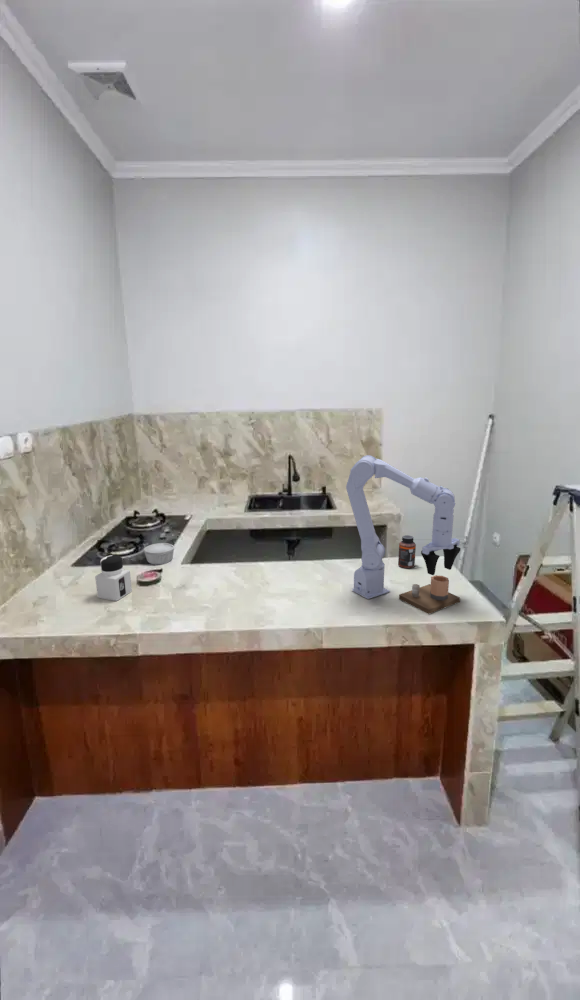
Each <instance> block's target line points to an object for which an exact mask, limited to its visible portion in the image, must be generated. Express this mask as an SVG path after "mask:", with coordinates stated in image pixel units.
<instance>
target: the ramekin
mask: <svg viewBox="0 0 580 1000" xmlns="http://www.w3.org/2000/svg"><path fill="white" fill-rule="evenodd" d="M174 550H175V546H174V545H173V544H171V543H167V542H158V543H153V544H150V545H147V546H145V547H144V549H143V552H144V556H145V558H146V561H147V562H148V563H149V564H151V565H165V564H167V563H169V562H172V560H173V558H174Z"/></svg>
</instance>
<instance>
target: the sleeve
mask: <svg viewBox="0 0 580 1000" xmlns="http://www.w3.org/2000/svg"><path fill="white" fill-rule="evenodd" d="M430 584H431V587H430V597H431V598H433V599H435V600H442V601H443V600H446V599H448V592H449V588H450V586H449V584H450V580H449V577H446V576H444V575H435V574H434V575H431V576H430Z"/></svg>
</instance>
